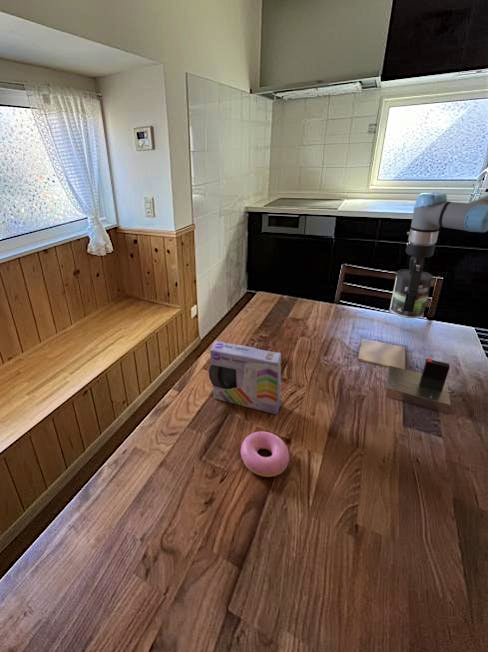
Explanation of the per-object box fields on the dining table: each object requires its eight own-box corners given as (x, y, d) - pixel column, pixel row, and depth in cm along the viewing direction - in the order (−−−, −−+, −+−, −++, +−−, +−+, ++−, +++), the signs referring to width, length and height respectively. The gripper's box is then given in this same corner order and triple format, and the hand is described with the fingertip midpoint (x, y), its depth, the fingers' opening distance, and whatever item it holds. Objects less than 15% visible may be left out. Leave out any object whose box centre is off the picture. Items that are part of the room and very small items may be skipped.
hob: (446, 388, 95) (449, 379, 93) (450, 414, 86) (453, 405, 85) (387, 373, 102) (389, 365, 100) (385, 396, 93) (387, 387, 92)
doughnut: (290, 445, 80) (291, 433, 79) (286, 487, 71) (288, 474, 69) (245, 434, 84) (245, 422, 82) (236, 473, 75) (235, 460, 73)
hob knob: (441, 387, 91) (449, 362, 87) (442, 391, 89) (450, 366, 86) (419, 382, 93) (426, 357, 90) (419, 385, 92) (426, 361, 88)
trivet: (404, 349, 112) (405, 347, 111) (404, 371, 102) (405, 369, 101) (361, 340, 118) (362, 338, 118) (357, 360, 108) (357, 358, 108)
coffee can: (428, 319, 112) (438, 280, 106) (394, 317, 114) (402, 279, 109) (417, 305, 121) (425, 269, 115) (385, 304, 124) (392, 268, 118)
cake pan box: (209, 398, 96) (206, 347, 89) (215, 387, 100) (213, 337, 93) (276, 417, 89) (280, 363, 81) (280, 404, 93) (284, 351, 85)
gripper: (407, 233, 118) (395, 290, 127) (407, 251, 101) (394, 316, 110) (433, 234, 115) (419, 293, 124) (438, 254, 97) (421, 321, 106)
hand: (407, 304), depth 117 cm, fingers closed on coffee can, 10 cm apart
